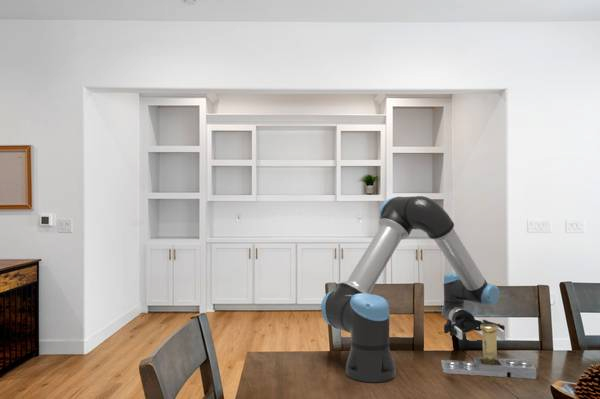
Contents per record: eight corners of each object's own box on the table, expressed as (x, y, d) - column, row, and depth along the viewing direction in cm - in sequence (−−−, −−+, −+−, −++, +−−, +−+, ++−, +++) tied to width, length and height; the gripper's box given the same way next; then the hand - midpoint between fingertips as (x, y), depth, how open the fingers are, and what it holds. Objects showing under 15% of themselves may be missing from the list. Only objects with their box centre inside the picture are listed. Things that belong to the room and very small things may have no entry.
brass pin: (482, 374, 138) (481, 327, 138) (479, 368, 143) (478, 323, 143) (501, 375, 137) (500, 328, 137) (497, 369, 142) (496, 324, 142)
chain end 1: (443, 373, 139) (443, 365, 139) (441, 364, 147) (441, 357, 147) (506, 377, 135) (506, 369, 135) (500, 368, 143) (500, 360, 143)
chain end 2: (478, 375, 137) (478, 363, 137) (474, 366, 144) (474, 355, 145) (536, 379, 133) (536, 366, 133) (528, 369, 141) (528, 358, 141)
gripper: (496, 330, 167) (522, 347, 146) (428, 329, 169) (443, 347, 147) (496, 309, 168) (521, 323, 146) (427, 309, 169) (443, 323, 147)
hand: (482, 335), depth 147 cm, fingers open, 13 cm apart
